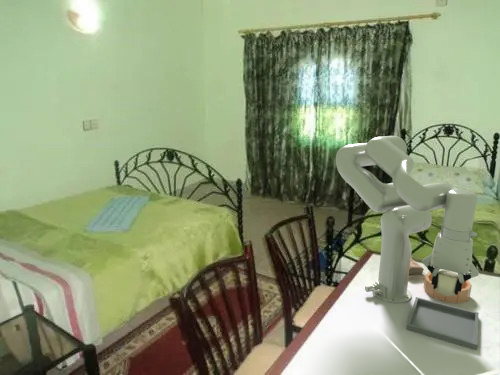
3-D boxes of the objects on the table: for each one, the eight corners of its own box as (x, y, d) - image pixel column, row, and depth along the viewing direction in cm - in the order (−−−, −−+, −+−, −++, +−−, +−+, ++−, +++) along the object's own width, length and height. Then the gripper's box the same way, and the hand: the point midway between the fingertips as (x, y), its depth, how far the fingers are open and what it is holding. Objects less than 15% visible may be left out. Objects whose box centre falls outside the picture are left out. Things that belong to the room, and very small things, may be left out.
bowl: (443, 306, 126) (445, 293, 125) (415, 286, 139) (416, 273, 138) (478, 301, 130) (480, 287, 128) (447, 281, 143) (449, 269, 141)
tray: (476, 352, 104) (477, 345, 104) (405, 331, 113) (406, 324, 113) (477, 319, 119) (478, 312, 119) (415, 302, 128) (416, 296, 128)
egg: (444, 297, 111) (447, 280, 110) (431, 287, 116) (434, 271, 114) (459, 294, 112) (462, 277, 111) (446, 285, 117) (448, 269, 116)
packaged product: (383, 249, 160) (405, 248, 161) (382, 260, 161) (404, 259, 162) (405, 269, 142) (430, 268, 144) (404, 281, 144) (429, 279, 145)
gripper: (490, 235, 108) (478, 292, 113) (424, 222, 116) (416, 276, 121) (490, 244, 102) (478, 304, 107) (421, 230, 110) (412, 287, 115)
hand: (445, 289), depth 114 cm, fingers closed on egg, 5 cm apart
